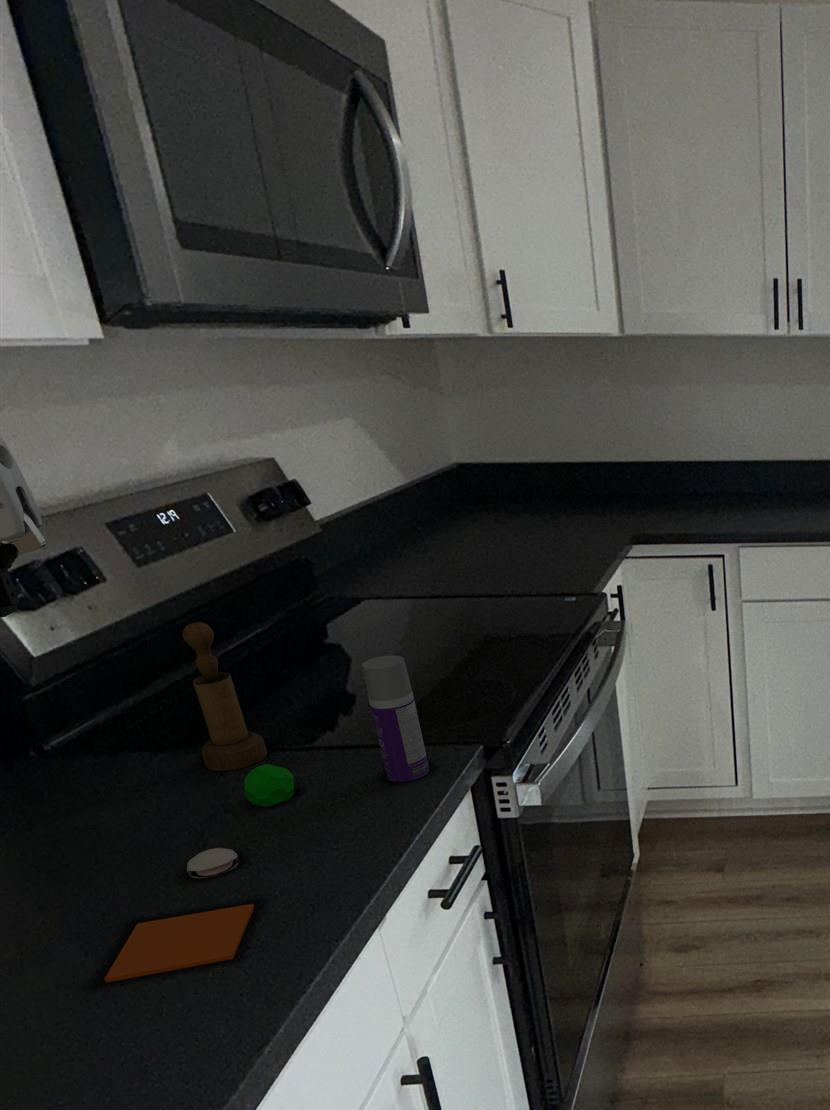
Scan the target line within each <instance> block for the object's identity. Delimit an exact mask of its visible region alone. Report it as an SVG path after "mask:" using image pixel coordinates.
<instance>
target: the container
mask: <svg viewBox="0 0 830 1110" xmlns="http://www.w3.org/2000/svg"><path fill="white" fill-rule="evenodd" d="M361 670H362V674H363V680H364V684H365V689H366V693H367V694H366V695H367V698H368V702H369V708H370V711H371V715H372V720H373V724H374V729H375V733H376V736H377V740H378V745H379V749H380V754H381V757H382V762H383V765H384V770H385V774H386V779H388V780H389V781H391V782H397V783H403V782H410V781H414V780H418V779H420V778H423V777H425V776H426V775H427V774H428V773H429V771H430V766H429V761H428V756H427V753H426V747H425V743H424V738H423V735H422V734H423V733H422V729H421V725H420V720H419V714H418V711H417V706H416V702H415V701H416V700H415V697H414V693H413V689H412V685H411V682H410V677H409V674H408V669H407V665H406V662H405V658H404V657H403V656H400V655H382V656H376V657H372V658H369V659H367V660H365V661H363V662H362V663H361Z"/></svg>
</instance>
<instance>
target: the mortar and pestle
mask: <svg viewBox="0 0 830 1110" xmlns="http://www.w3.org/2000/svg"><path fill="white" fill-rule="evenodd" d="M181 634H182V638H183V640H184V643H186V644H187V645H188V646H189V647H190V648H192V650H194V651H195V654H196V659H195V660H194V664H195V666H196V668H197V669H198V671H199V672H200V674H201V675H200V676H198V677H196V678H195V679H193V680H192V683H193V687H194V690H195V693H196V696H197V699H198V701H199V705H200V708H201V711H202V715H203V718H204V720H205V724H206V727H207V731H208V734H209V737H210V739H208V740H207V741H206V742H205V744H204V745H202V748H201V750H200V751H201V755H202V759H203V761H204V765H205V767H206V769H208V770H210V771H214V772H228V771H234V770H241V769H245V768H248V767H251V766H254V765H256V764H258V763H260V762H262V761H264V759H265V758H266V757H267V756H268V750H267V747H266V743H265V741H264V738H263V736H261V735H260V734H257V733H255V732H253V731H249V730H248V728H247V725H246V722H245V719H244V716H243V711H242V709H241V706H240V703H239V698H238V695H237V693H236V689H235V685H234V682H233V679H232V676H231V674H230V673H229V672H224V671H221V672H220V671H219V660H218V657H217V656H214V655H213V654H212V652H211V648H212V645H213V642H214V638H215V634H214V631H213V629H212V627H210V626H209V624H207V623H206V622H201V621H195V622H191V623H189V624H187V625H185V627H184V628H183V629H182V633H181Z"/></svg>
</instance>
